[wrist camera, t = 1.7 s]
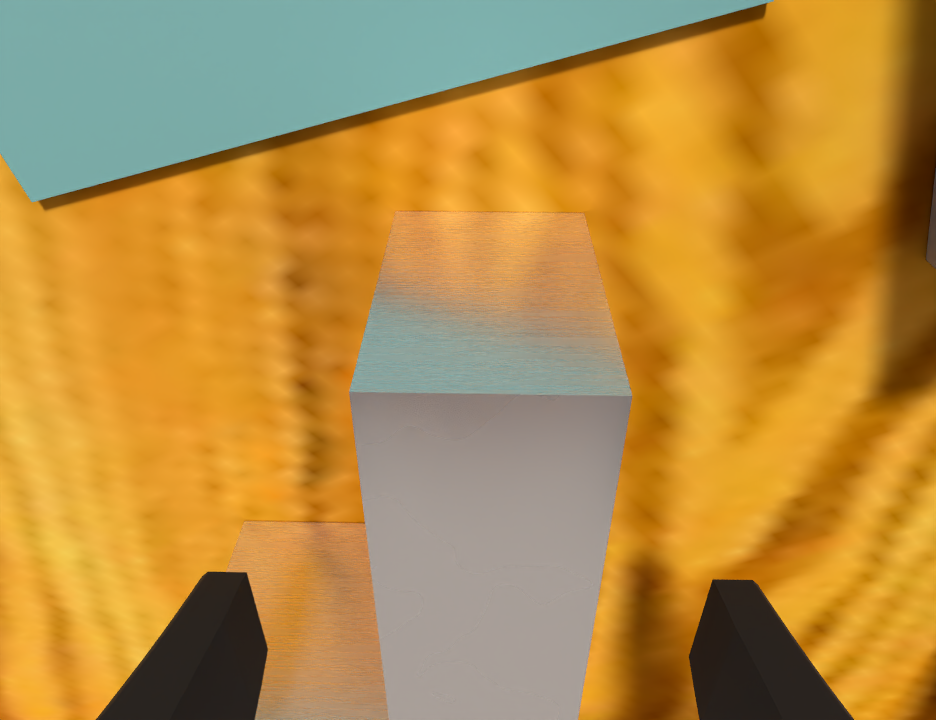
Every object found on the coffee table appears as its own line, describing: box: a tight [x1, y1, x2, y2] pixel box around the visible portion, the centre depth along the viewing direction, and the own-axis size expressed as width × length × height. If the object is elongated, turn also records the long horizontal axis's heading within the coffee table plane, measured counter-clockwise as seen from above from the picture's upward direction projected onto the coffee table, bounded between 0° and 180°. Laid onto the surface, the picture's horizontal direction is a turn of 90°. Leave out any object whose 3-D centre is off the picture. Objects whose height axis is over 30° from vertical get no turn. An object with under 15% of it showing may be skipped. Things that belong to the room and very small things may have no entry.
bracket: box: [226, 211, 632, 720], centre depth 13 cm, size 11×7×5 cm, turn 0°
